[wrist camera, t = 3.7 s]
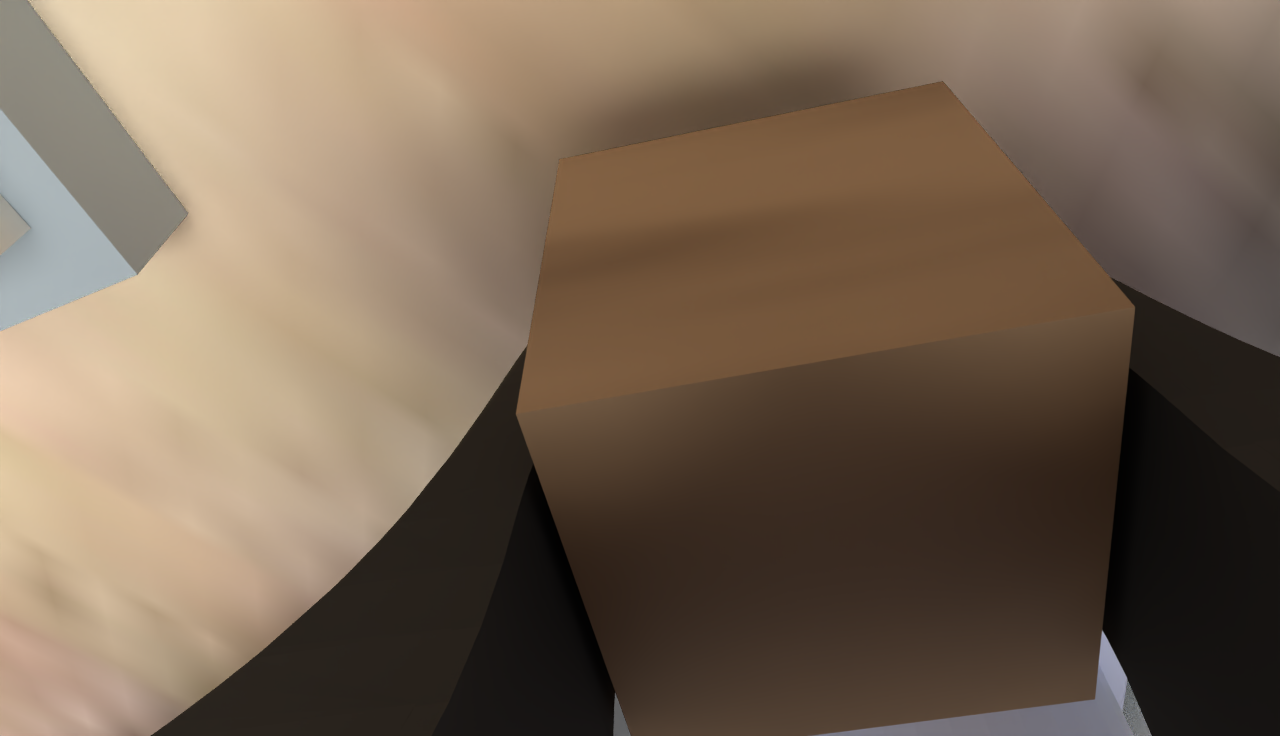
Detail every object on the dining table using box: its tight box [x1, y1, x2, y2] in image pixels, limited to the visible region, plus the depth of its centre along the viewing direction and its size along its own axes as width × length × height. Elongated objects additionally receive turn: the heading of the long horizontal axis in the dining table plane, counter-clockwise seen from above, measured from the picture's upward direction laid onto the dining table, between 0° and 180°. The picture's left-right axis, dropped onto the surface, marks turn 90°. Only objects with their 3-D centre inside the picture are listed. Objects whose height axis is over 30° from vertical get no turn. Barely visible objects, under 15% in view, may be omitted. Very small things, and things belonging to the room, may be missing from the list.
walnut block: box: [516, 81, 1135, 736], centre depth 10 cm, size 4×4×5 cm
